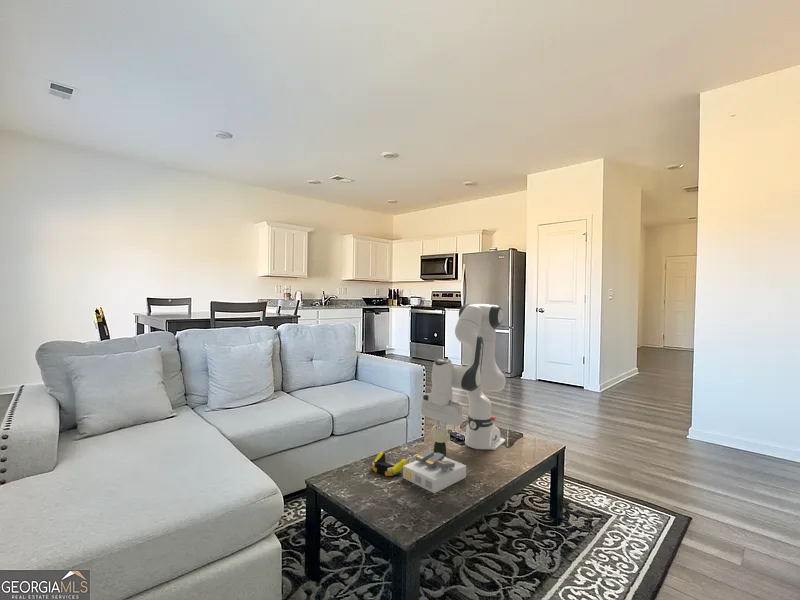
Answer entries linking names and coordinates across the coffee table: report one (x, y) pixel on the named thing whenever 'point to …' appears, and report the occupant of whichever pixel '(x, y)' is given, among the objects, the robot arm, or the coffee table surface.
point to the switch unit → (433, 475)
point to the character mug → (440, 439)
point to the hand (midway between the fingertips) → (440, 431)
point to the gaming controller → (387, 466)
